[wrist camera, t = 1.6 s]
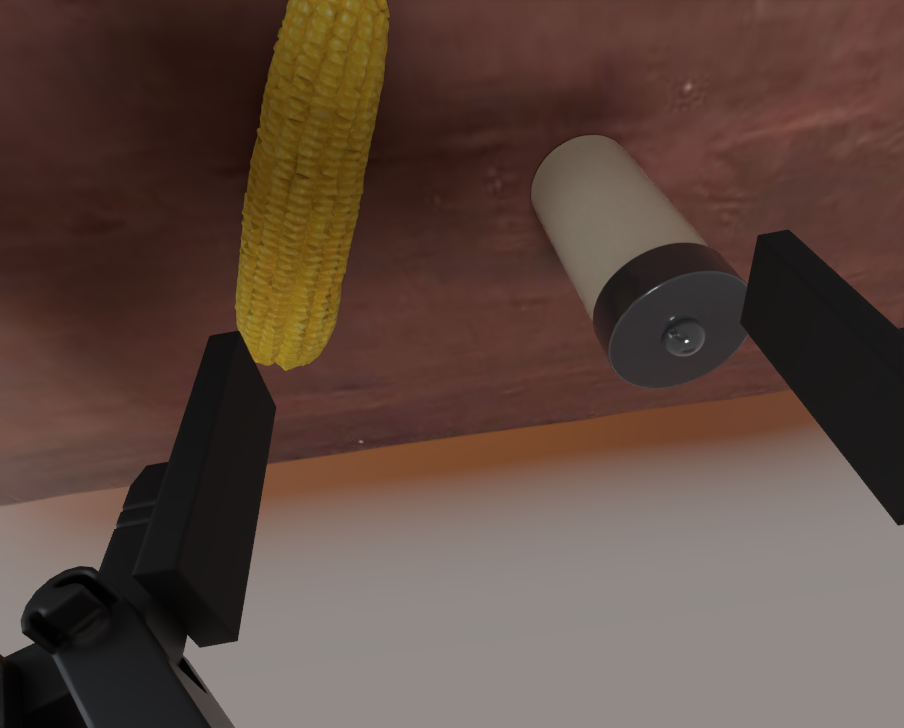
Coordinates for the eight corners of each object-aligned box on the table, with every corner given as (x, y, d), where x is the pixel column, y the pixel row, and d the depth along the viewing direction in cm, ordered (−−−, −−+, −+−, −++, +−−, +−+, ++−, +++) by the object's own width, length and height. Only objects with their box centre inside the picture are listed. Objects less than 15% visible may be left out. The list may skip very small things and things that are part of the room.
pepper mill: (511, 217, 36) (587, 389, 25) (562, 116, 32) (677, 266, 22) (598, 245, 38) (703, 414, 27) (654, 153, 34) (801, 306, 24)
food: (329, 325, 39) (329, 390, 35) (237, 313, 37) (225, 379, 33) (405, -55, 26) (420, -28, 22) (270, -99, 25) (257, -80, 20)
